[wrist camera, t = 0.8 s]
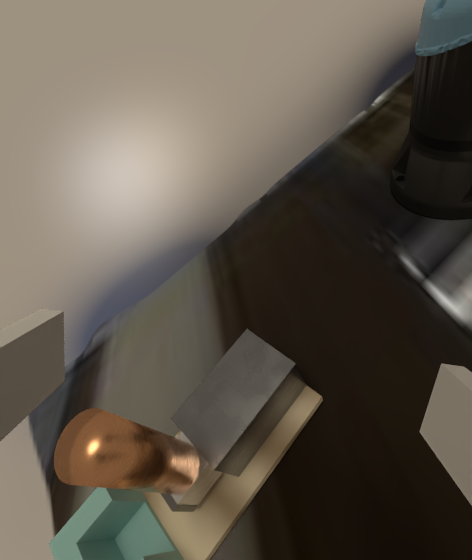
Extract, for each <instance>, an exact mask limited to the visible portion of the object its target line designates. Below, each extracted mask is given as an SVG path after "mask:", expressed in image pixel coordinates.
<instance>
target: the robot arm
mask: <svg viewBox="0 0 472 560" xmlns="http://www.w3.org/2000/svg"><path fill="white" fill-rule="evenodd" d="M415 51H416V64H415V75H414V85H413V96H412V106H411V117H410V127H409V132H408V134H407V137H406V139H405V141H404V143H403V145H402V147H401V149H400V151H399V153H398V155H397V157H396V160H395V162H394V164H393V167H392V171H391V183H390V186H391V191H392V194H393V196H394V197H395V199H396V200H397V201H398V202H399V203H400V204H401V205H403V206H404V207H405V208H407V209H409V210H411V211H413V212H415V213H418V214H421V215H424V216H428V217H433V218H440V219H464V218H471V217H472V0H426V2H425V4H424V8H423V12H422V18H421V25H420V31H419V37H418V40H417V43H416V46H415ZM64 381H65V367H64V314H63V311H58V310H50V309H43V308H42V309H40V310H38V311H36V312H34V313H32V314H30V315H28V316H26V317H24V318H22V319H20V320H18V321H16V322H14V323H12V324H10V325H8V326H6V327H4V328H2V329H0V441H1V440H2V439H3V438H4V437H5V436H6V435H8V433H10V431H12V430H13V429H14V428H15V427H16V426H17V425H18V424H19V423H20V422H21V421H22V420H23V419H24V418H26V417H27V416H28V415H29V414H30V413H31V412H32V411H33V410H34V409H35V408H36V407H37V406H38V405H39V404H40V403H41V402H42V401H44V400H45V399H46V398H47V397H48V396H49V395H50V394H51V393H52V392H53V391H54V390H55V389H56V388H57V387H58V386H59V385H60V384H62V383H63V382H64ZM420 433H421V435H422V436H423V437H424V439H425V440H426V442H427V443H428V445H429V446H430V447H431V449H432V450H433V452H434V453H435V454H436V456H437V457H438V459H439V460H440V462H441V463H442V464H443V466H444V467H445V469H446V470H447V471H448V473H449V474H450V476H451V477H452V479H453V480H454V481H455V483H456V484H457V486H458V487H459V488H460V490H461V491H462V493H463V494H464V495H465V497H466V498H467V500H468V501H469V503H470V504H471V505H472V373H471V372H470V371H469V370H468V369H466V368H465V367H462V366H455V365H448V364H441V366H440V369H439V373H438V376H437V379H436V382H435V385H434V388H433V391H432V394H431V398H430V401H429V404H428V407H427V410H426V413H425V416H424V419H423V423H422V426H421V429H420Z"/></svg>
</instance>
